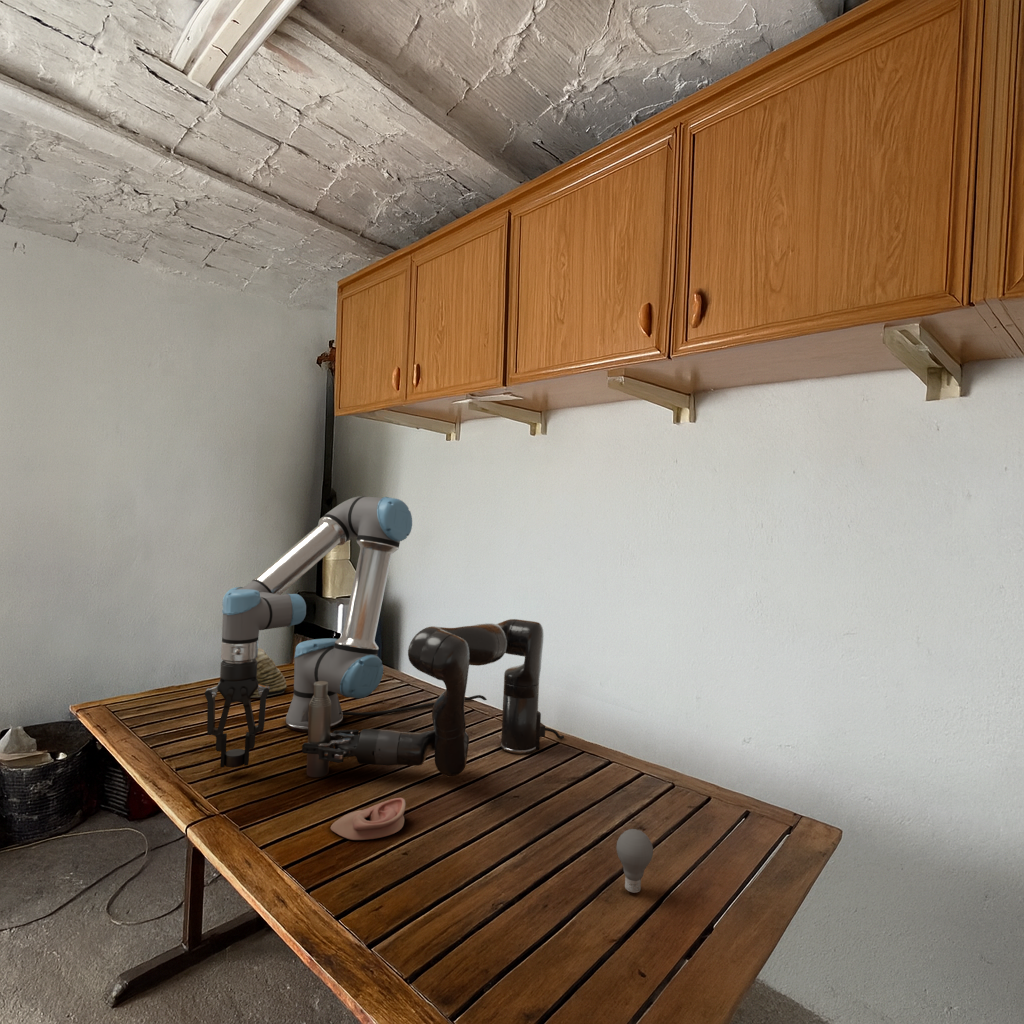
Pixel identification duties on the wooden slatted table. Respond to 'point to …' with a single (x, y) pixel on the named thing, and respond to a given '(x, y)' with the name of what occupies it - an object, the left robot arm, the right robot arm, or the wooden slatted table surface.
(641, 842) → the light bulb
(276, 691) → the fossil
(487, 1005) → the wooden slatted table surface
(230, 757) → the cap
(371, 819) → the anatomical model
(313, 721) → the bottle
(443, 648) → the right robot arm
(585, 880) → the wooden slatted table surface
